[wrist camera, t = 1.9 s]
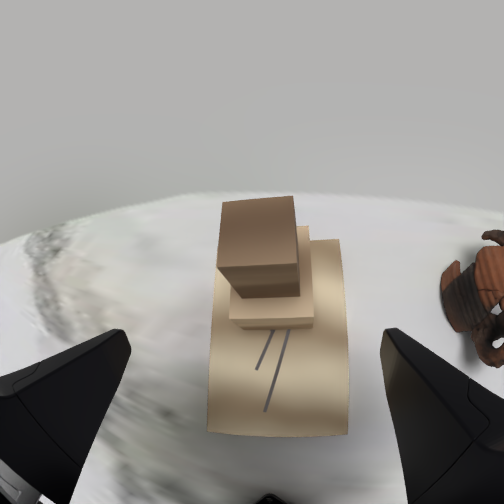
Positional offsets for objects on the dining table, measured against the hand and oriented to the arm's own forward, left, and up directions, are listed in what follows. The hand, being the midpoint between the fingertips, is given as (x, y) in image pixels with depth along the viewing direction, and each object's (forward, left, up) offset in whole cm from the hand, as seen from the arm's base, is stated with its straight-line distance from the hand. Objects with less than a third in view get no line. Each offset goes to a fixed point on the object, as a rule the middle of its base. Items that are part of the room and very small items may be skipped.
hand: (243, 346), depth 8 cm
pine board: (+2, +1, -13) cm, 13 cm away
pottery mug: (+14, -12, -13) cm, 23 cm away
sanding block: (+4, +3, -11) cm, 12 cm away
